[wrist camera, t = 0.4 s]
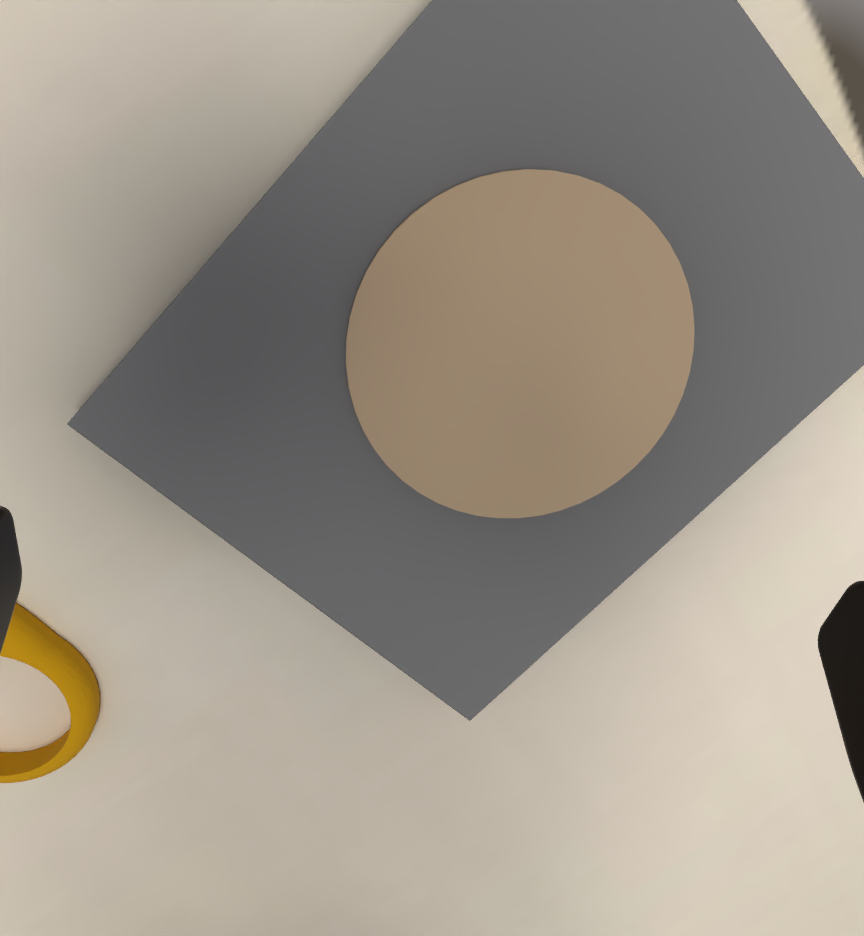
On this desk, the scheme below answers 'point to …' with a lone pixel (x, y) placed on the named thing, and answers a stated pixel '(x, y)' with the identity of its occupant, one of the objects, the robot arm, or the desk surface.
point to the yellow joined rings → (70, 675)
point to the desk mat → (506, 326)
